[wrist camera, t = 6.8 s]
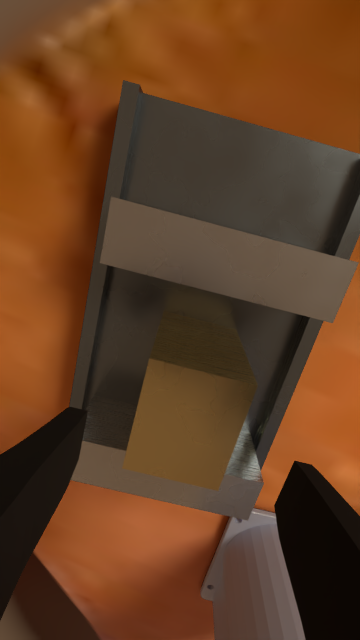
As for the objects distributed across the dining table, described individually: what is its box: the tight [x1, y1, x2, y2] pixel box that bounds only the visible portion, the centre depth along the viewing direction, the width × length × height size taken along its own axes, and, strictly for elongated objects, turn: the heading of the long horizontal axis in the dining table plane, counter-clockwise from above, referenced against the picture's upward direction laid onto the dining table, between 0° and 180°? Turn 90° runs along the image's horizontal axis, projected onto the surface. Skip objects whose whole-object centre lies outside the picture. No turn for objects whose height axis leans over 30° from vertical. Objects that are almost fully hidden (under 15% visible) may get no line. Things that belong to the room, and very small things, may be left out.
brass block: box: [122, 311, 258, 491], centre depth 15 cm, size 5×4×6 cm
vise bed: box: [69, 80, 360, 521], centre depth 16 cm, size 18×12×5 cm, turn 166°
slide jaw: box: [100, 197, 358, 323], centre depth 14 cm, size 2×10×4 cm, turn 76°
